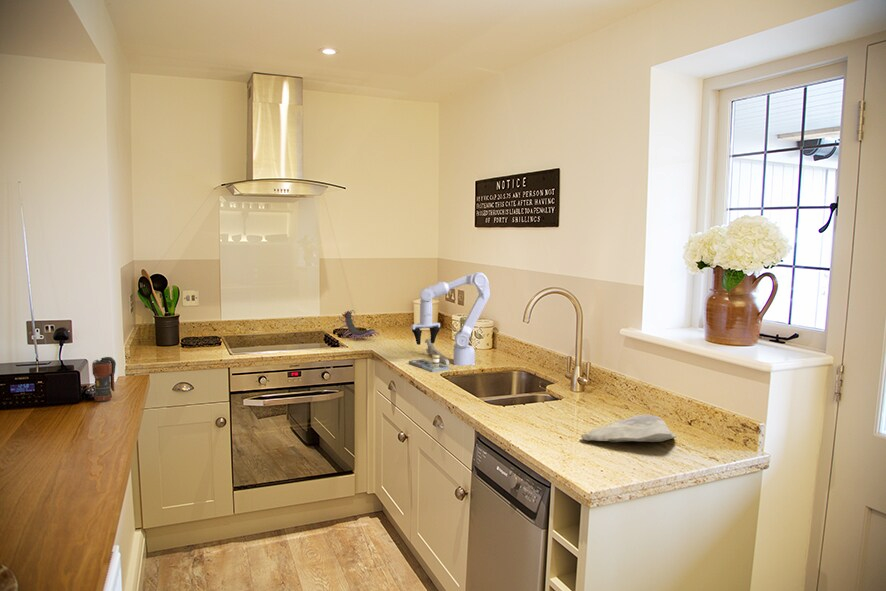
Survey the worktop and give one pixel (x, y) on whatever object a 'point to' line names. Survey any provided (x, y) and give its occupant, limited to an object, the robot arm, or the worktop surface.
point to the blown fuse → (435, 361)
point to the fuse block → (419, 362)
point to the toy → (353, 329)
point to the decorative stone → (632, 430)
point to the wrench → (435, 352)
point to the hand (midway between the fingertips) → (425, 343)
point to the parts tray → (443, 368)
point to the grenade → (103, 378)
